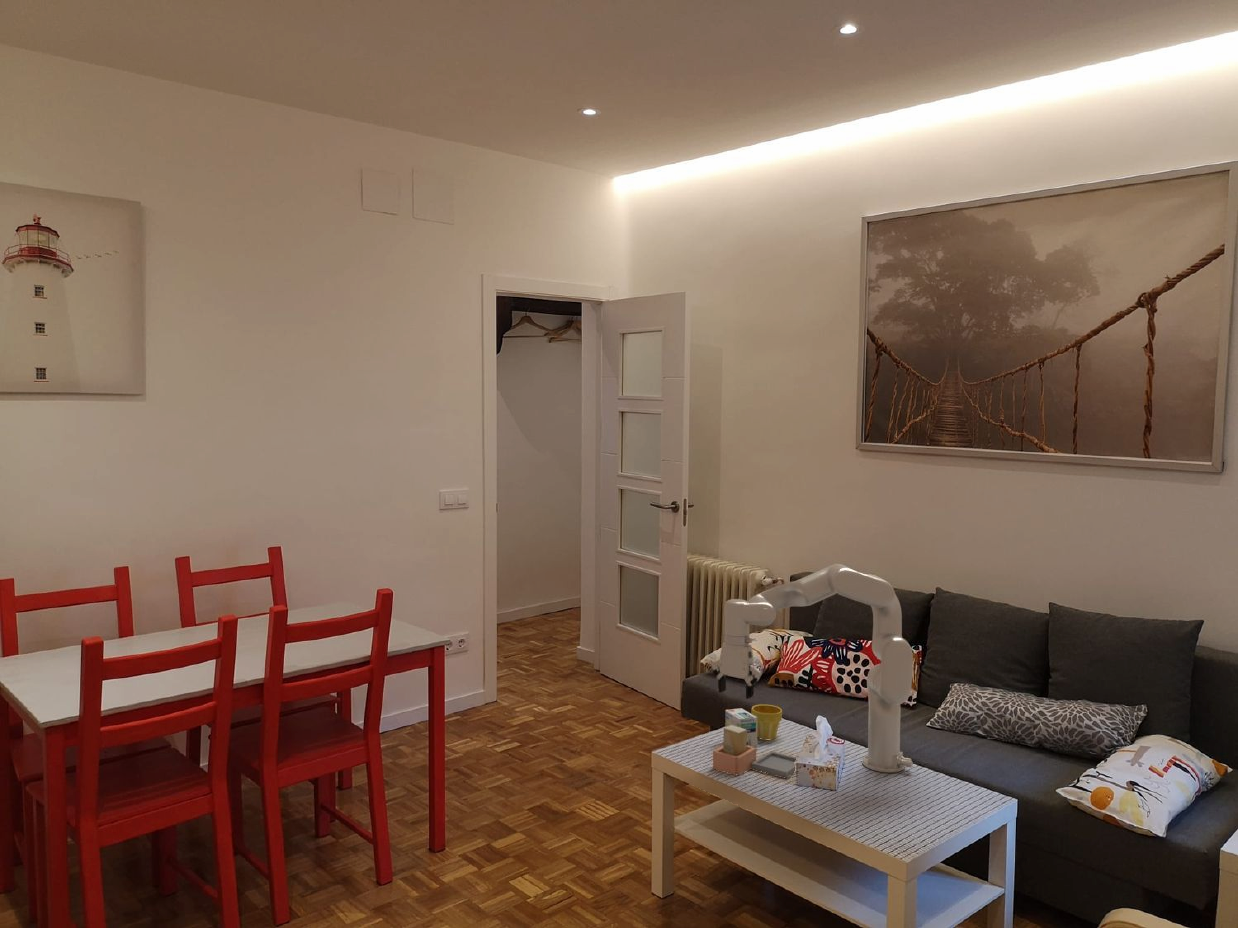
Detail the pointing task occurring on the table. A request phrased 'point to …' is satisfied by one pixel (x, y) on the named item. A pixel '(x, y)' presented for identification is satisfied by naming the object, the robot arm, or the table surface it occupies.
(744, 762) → the terracotta square pot
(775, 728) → the plant pot
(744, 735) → the skincare box
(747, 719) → the light bulb box
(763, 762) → the grey tray
